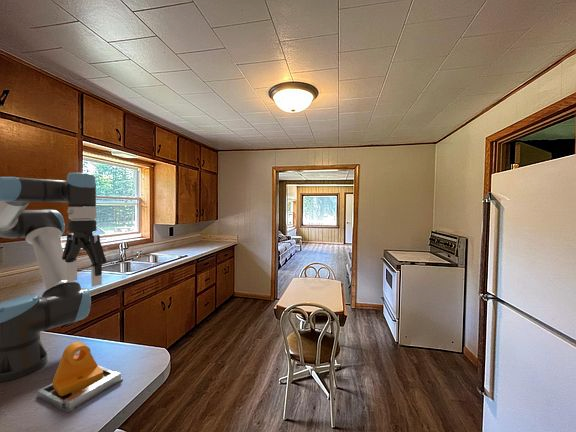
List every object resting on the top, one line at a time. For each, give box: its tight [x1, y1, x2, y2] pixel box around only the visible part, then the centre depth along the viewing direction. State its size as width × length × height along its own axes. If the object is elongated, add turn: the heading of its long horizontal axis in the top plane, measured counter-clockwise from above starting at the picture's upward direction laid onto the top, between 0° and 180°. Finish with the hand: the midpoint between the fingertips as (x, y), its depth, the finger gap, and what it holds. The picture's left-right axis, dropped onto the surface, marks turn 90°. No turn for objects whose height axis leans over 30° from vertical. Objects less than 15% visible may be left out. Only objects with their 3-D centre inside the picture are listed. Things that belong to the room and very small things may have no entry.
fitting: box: [36, 364, 124, 414], centre depth 81 cm, size 15×15×2 cm
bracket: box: [52, 341, 103, 396], centre depth 82 cm, size 11×7×12 cm, turn 144°
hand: (84, 283), depth 91 cm, fingers open, 13 cm apart
